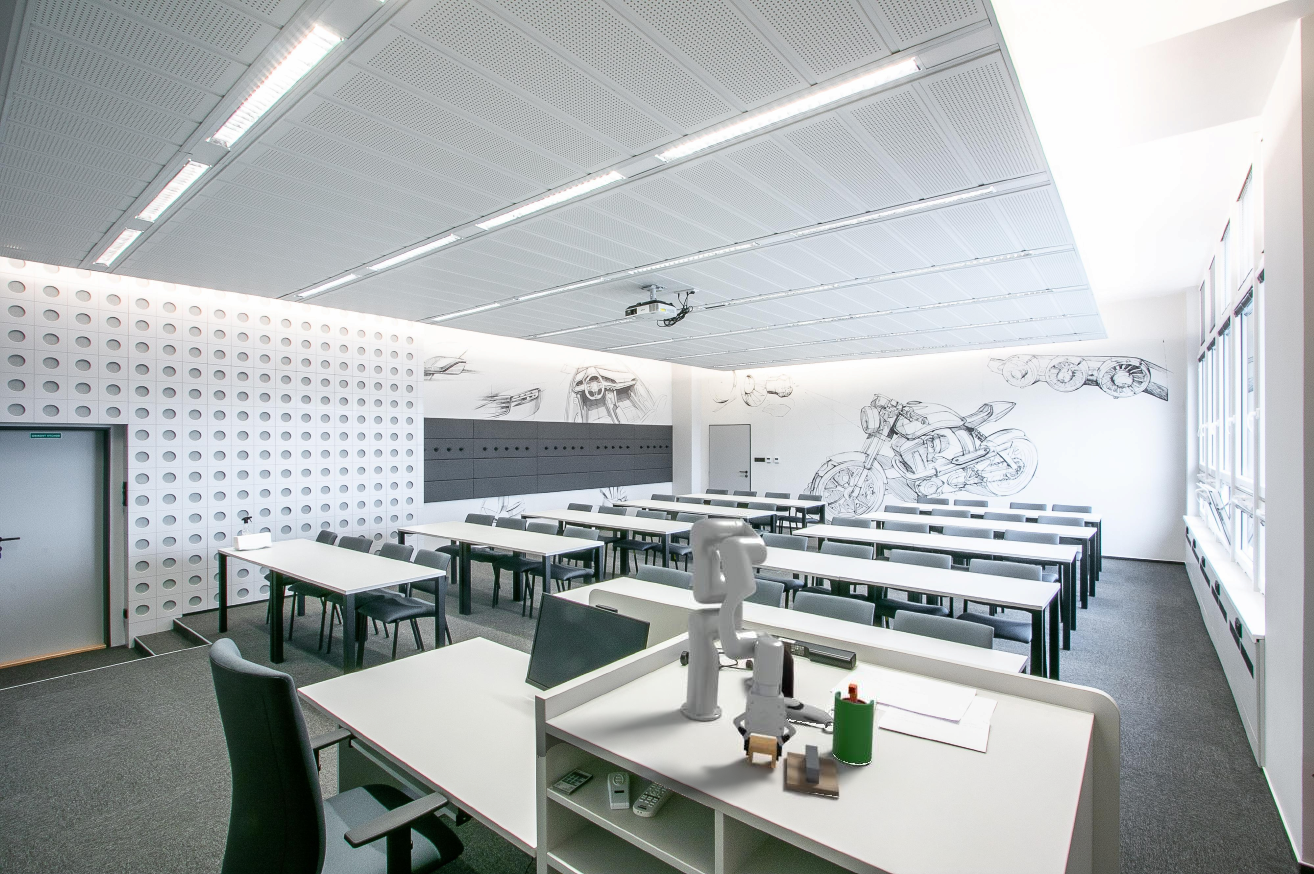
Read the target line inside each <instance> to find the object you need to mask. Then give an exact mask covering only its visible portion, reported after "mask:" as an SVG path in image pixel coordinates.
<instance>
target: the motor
mask: <svg viewBox="0 0 1314 874" xmlns="http://www.w3.org/2000/svg"><path fill="white" fill-rule="evenodd" d="M847 688H848V689H847V690H848V692H847V694H848V695H849V697H843V698H841V697H842V692H841V691H839V690H838V691H836V692H835V693H834V701H833V702H834V703H833V704H834V705H833V706H834V707H833V708H834V712H833V717H834V724H833V732H832V746H831V747H832V748H831V753H832V752H833V754H834V755H835V756H836V757H837V758H838V759H840V760H842V761H845V762H848V763H855V764H863V763H868V762H870V761H871V759H873V737H874V735H873V734H874V715H875V713H874V712H875V700H874V699H871V700H869V702H868V703H867V702H866V701H865V700H862V699H861V698H858V684H854V683H849V684H848V686H847ZM833 754H832V755H833ZM838 759H837V760H838ZM842 761H841V762H842ZM871 762H872V761H871Z"/></svg>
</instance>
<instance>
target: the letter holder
mask: <svg viewBox="0 0 1314 874" xmlns="http://www.w3.org/2000/svg"><path fill="white" fill-rule="evenodd" d="M782 643H783V646H784V654H783V671H782V686H781V692H782V693H783V695H784V698H785V697H787V698H793V699H795V698H794V697H795V695H794V689H795V687H794V686H795V684H794V683H795V682H794V681H795V673H794V671H795V670H794V668H795V667H794V666H795V662H794V658H793V655H792V654H791V650H790V649H789V648H788V647H787V645H786V644H785V643H784V642H782Z"/></svg>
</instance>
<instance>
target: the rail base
mask: <svg viewBox="0 0 1314 874" xmlns="http://www.w3.org/2000/svg"><path fill="white" fill-rule="evenodd" d="M818 758H819V768H820V772H819V784H815V783H809V782H806V770H805V753H804V754H803V753H799V752H798V753H797V752H791V751H787V752H786V790H787V791H793V790H794V791H795V792H799V791H801V793H805V792H809V793H808V794H811V793H818V794H824V795H832V796H839V797H840V789H839V783H838V776H837V769H836V763H835V762H836V761H835V759H834V758H828V757H823V756H822V757H821V756H818Z"/></svg>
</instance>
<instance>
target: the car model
mask: <svg viewBox="0 0 1314 874" xmlns="http://www.w3.org/2000/svg"><path fill="white" fill-rule="evenodd" d="M784 702H785V719H786V720H787V719H788V720H789V719H791V720H796V721H794V722H797V721H802V722H809V723H816V724H824V725H825V728H827V727H828V726H832V725H831V723H833V724H834V720H833V719H832V717H831V716H832V715H831V716H830V715H829V714H828V713H829V712H826V711H825V710H823V709H820V708H817V707H814V706H812V705H809V704H805V703H803V702H801V701H799V700H798V699H796V698H793V699H792V698H787V697H785V698H784ZM830 710H831V711H834V707H833V708H831V709H830ZM788 720H787V721H788ZM794 722H793V723H794ZM802 722H800V723H802ZM800 723H799V724H800Z"/></svg>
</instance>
